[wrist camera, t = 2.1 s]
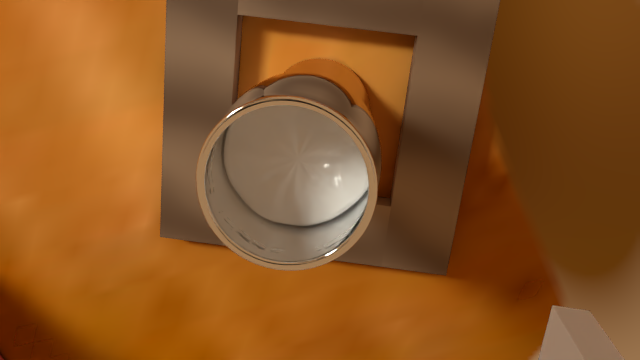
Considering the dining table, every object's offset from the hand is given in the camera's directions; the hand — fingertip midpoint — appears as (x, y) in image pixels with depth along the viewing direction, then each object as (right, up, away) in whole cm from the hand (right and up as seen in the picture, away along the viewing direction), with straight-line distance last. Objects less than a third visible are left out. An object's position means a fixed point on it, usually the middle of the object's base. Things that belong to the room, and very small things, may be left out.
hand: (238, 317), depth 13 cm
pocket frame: (+2, +7, +22) cm, 23 cm away
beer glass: (+2, +7, +22) cm, 24 cm away
